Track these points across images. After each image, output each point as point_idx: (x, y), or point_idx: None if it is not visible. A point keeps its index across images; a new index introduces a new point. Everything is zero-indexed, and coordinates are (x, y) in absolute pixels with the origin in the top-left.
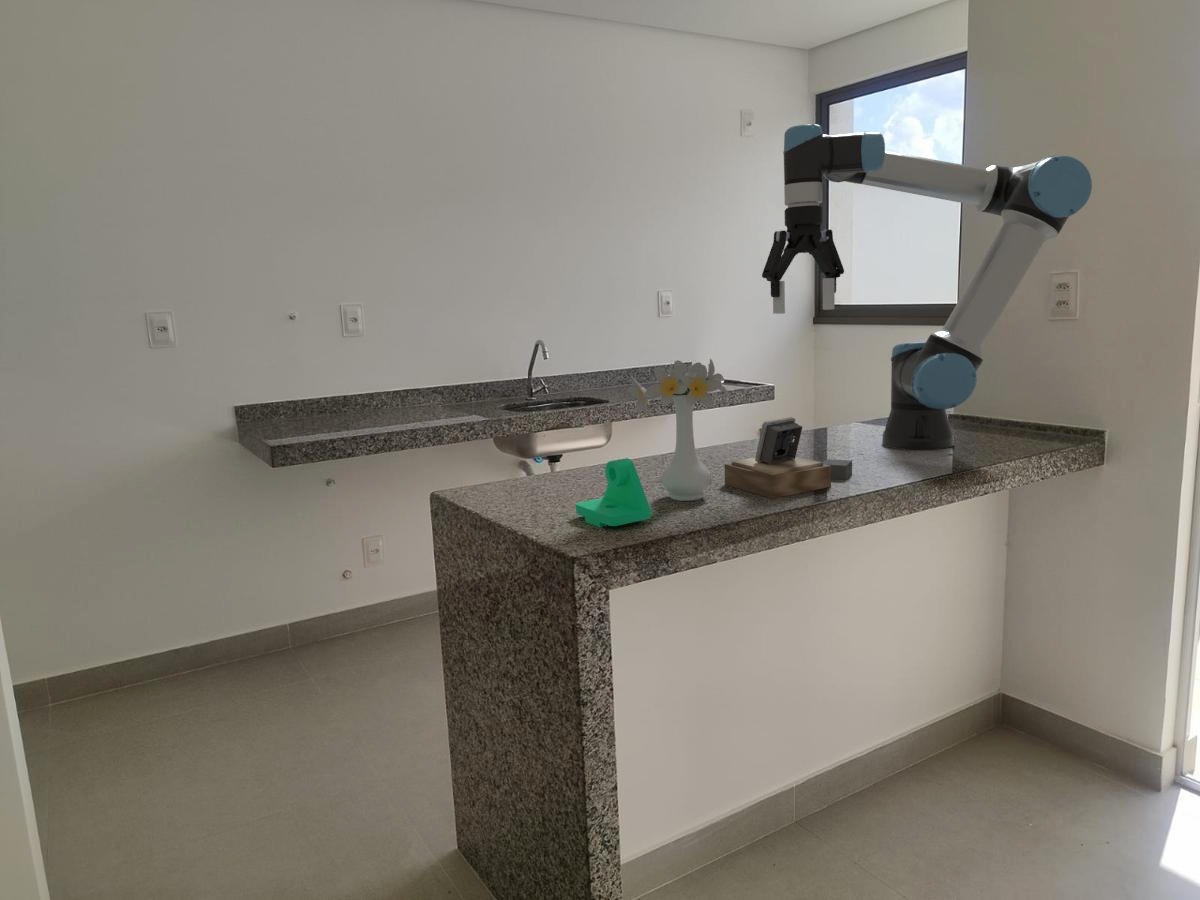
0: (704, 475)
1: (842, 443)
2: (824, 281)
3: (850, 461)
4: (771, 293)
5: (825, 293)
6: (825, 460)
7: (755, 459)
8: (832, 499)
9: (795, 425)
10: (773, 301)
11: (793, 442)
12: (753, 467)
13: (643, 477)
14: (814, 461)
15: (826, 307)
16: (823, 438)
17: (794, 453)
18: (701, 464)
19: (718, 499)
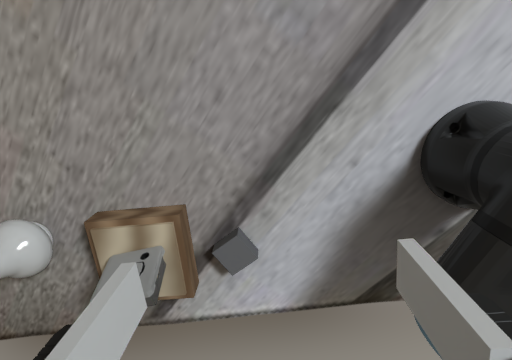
0: (29, 276)
1: (399, 73)
2: (473, 348)
3: (252, 261)
4: (51, 344)
5: (433, 300)
6: (231, 240)
7: (109, 259)
8: (169, 318)
9: (146, 301)
10: (96, 297)
11: (158, 276)
12: (101, 269)
13: (11, 115)
14: (180, 285)
15: (401, 264)
16: (411, 8)
17: (163, 268)
18: (22, 272)
19: (64, 262)
